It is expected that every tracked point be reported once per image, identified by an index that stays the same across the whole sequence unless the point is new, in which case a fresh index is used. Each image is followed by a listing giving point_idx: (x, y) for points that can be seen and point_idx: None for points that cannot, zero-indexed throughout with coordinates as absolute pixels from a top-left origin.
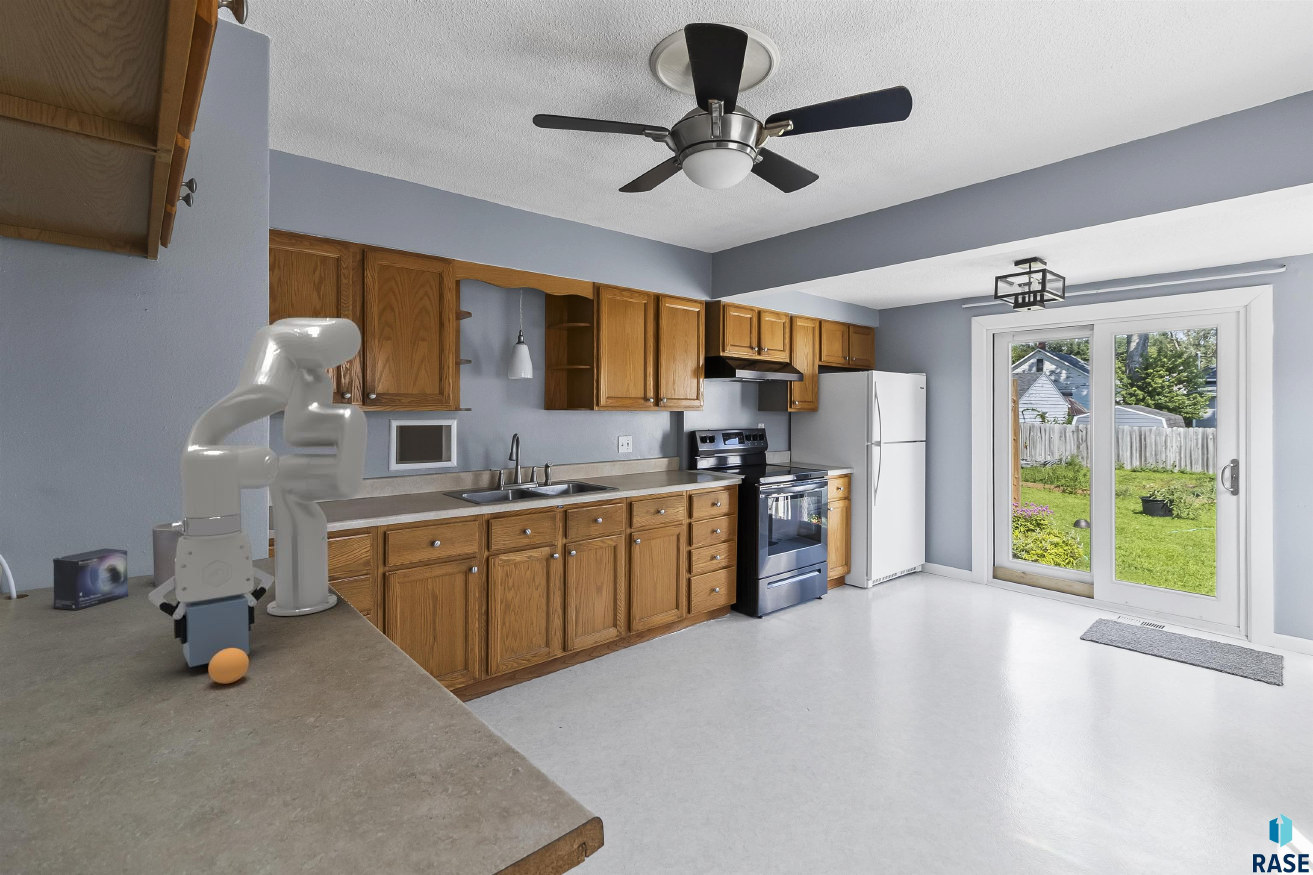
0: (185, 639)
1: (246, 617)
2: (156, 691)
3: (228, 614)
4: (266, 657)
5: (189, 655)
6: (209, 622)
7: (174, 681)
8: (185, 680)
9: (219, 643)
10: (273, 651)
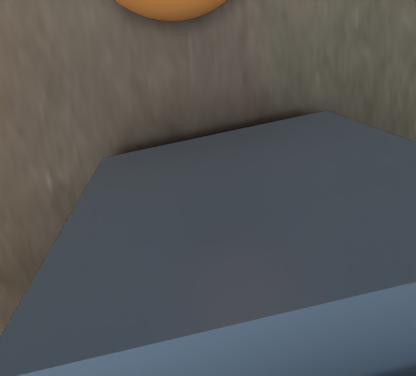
0: None
1: (64, 243)
2: (412, 8)
3: (200, 243)
4: (51, 190)
5: (350, 120)
6: (332, 195)
7: (354, 90)
8: (321, 78)
9: (230, 154)
10: (35, 248)
